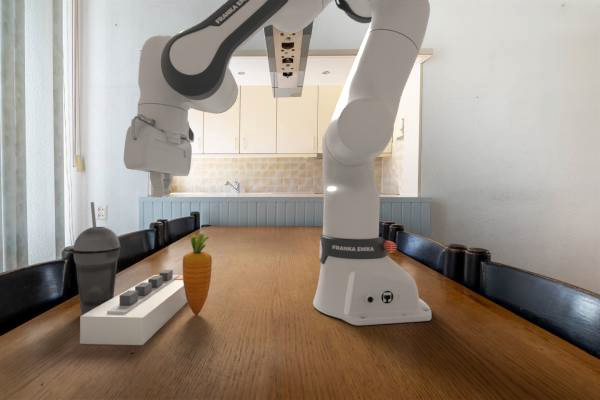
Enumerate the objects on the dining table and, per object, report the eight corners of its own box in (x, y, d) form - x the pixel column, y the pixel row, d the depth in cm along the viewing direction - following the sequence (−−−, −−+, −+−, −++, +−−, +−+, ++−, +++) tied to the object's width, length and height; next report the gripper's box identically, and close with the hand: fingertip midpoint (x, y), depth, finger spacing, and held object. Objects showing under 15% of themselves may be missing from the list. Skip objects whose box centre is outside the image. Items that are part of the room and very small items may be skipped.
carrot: (182, 311, 56) (184, 230, 55) (210, 308, 57) (212, 230, 57) (180, 322, 51) (182, 234, 51) (211, 319, 52) (212, 233, 52)
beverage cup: (96, 323, 50) (97, 203, 49) (60, 318, 51) (61, 202, 51) (129, 307, 57) (130, 202, 57) (97, 303, 58) (98, 201, 58)
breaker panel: (195, 294, 65) (195, 266, 65) (142, 345, 43) (143, 303, 43) (154, 293, 65) (154, 265, 65) (80, 343, 43) (80, 302, 43)
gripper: (153, 111, 47) (151, 198, 48) (197, 136, 68) (195, 197, 68) (113, 109, 47) (111, 197, 48) (169, 135, 68) (167, 196, 68)
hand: (161, 197), depth 58 cm, fingers closed
